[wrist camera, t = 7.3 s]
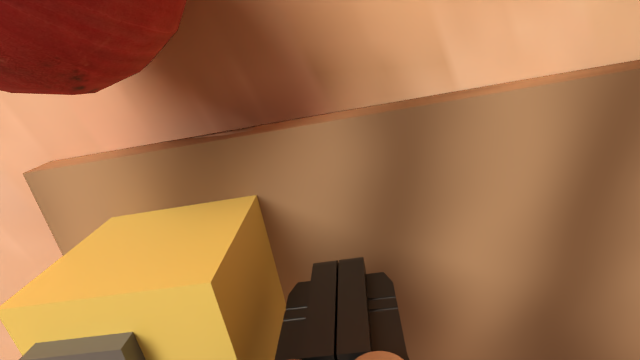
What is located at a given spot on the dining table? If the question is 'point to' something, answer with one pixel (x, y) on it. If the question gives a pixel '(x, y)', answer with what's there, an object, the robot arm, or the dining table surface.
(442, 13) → the dining table surface
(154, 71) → the dining table surface
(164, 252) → the yellow cube
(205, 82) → the dining table surface
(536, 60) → the dining table surface
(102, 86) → the onion
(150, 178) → the board
